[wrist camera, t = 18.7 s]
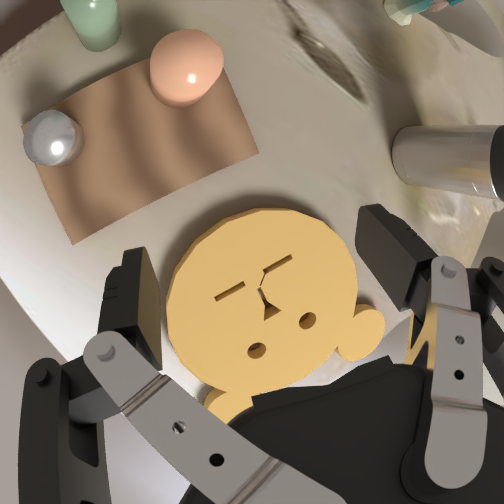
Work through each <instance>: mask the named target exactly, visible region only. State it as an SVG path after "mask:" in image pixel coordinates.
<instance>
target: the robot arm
mask: <svg viewBox="0 0 504 504" xmlns="http://www.w3.org/2000/svg"><path fill="white" fill-rule="evenodd" d="M392 160H393V165H394V168H395V171H396V172H397V174H398V176H399V177H400V179H401V180H402V181H404V182H405V183H407V184H409V185H415V186H422V187H428V188H433V189H440V190H445V191H451V192H457V193H462V194H468V195H473V196H478V197H483V198H489V199H493V200H498V201H503V202H504V125H433V126H411V127H405V128H403V129H401V130H400V131H399V132H398V134H397V135H396V137H395V139H394V142H393V147H392ZM355 247H356V250H357V253H358V254H359V256H360V257H361V258H362V260H363V261H364V263H365V264H366V265H367V267H368V268H369V269H370V271H371V272H372V273H373V275H374V276H375V278H376V279H377V280H378V282H379V283H380V285H381V286H382V287H383V289H384V290H385V292H386V293H387V294H388V296H389V297H390V299H391V300H392V302H393V303H394V305H395V306H396V307H397V309H398V310H399V312H402V311H405V310H408V309H410V308H411V309H412V311H413V313H412V316H411V320H410V321H411V322H410V330H409V338H408V345H407V352H406V358H405V361H404V364H393V363H392V361H391V359H390V357H389V356H388V355H387V356H385V357H382V358H379V359H377V360H374V361H371V362H368V363H365V364H363V365H360V366H358V367H356V368H355V369H353V370H351V371H350V372H348V373H347V374H345V375H344V376H342V377H340V378H339V379H337V380H336V381H334V382H332V383H331V384H329V385H324V386H307V387H287V388H283V389H279V390H275V391H271V392H267V393H263V394H259V395H254V396H251V399H252V404H253V406H251V407H249V408H247V409H245V410H243V411H242V412H240V413H239V414H237V415H236V416H235V417H234V418H232V419H231V420H230V421H229V422H228V423H227V424H225V423H224V422H223V421H221V420H220V419H219V418H218V417H216V416H215V415H214V414H213V413H211V412H210V411H209V410H208V409H206V408H205V407H204V406H203V405H202V404H200V403H199V402H198V401H197V400H196V399H194V398H193V397H192V396H191V395H190V394H189V393H187V392H186V391H185V390H184V389H183V388H182V387H181V386H179V385H178V384H177V383H176V382H175V381H174V380H173V379H171V378H170V377H169V376H167V375H164V376H163V375H162V374H160V373H159V372H158V371H160V370H163V369H162V351H161V324H160V291H159V285H158V281H157V278H156V275H155V272H154V270H153V267H152V264H151V261H150V258H149V255H148V252H147V250H146V248H145V247H139V248H134V249H130V250H125V251H124V253H123V259H122V266H118V267H113V269H112V270H111V272H110V273H109V275H108V276H107V278H106V282H105V288H104V290H105V291H104V293H103V301H102V305H101V311H100V318H99V324H98V332H97V335H96V336H94V337H93V338H92V339H90V341H89V342H88V343H87V345H86V346H85V349H84V352H83V355H82V356H80V357H78V358H76V359H74V360H72V361H70V362H67V363H65V364H63V365H60V364H59V363H58V362H57V361H56V360H54V359H52V358H42V359H40V360H38V361H36V362H35V363H34V364H33V365H32V366H31V367H30V369H29V370H28V372H27V375H26V378H25V384H24V391H23V399H22V408H21V418H20V430H19V449H18V489H19V504H112V503H111V496H110V490H109V481H108V473H107V464H106V453H105V441H104V425H103V420H104V419H106V418H109V417H111V416H114V415H116V414H118V413H120V412H122V413H123V414H124V415H125V417H126V418H127V419H128V420H129V421H130V422H131V424H132V425H133V426H134V427H135V428H136V429H137V430H138V431H139V432H140V433H141V435H142V436H143V437H144V438H145V439H146V440H147V441H148V442H149V443H150V444H151V445H152V446H153V447H154V448H155V449H156V450H157V451H158V452H159V453H160V454H161V455H162V456H163V457H164V458H165V459H166V460H167V461H168V462H169V463H170V464H171V465H172V466H173V467H174V468H175V469H176V470H177V471H178V472H179V473H180V474H181V475H183V476H184V477H185V478H186V479H187V480H188V481H189V482H190V483H191V484H190V486H189V488H188V489H187V491H186V493H185V494H184V496H183V498H182V499H181V501H180V503H179V504H504V405H503V406H500V405H498V404H496V403H494V402H491V401H489V400H487V399H485V398H483V363H484V364H485V366H486V368H487V370H488V371H489V373H490V375H491V377H492V378H493V380H494V382H495V384H496V385H497V387H498V389H499V391H500V393H501V395H502V397H503V399H504V332H503V331H502V329H501V328H500V326H499V325H498V324H497V322H496V321H495V319H494V318H493V316H492V315H491V314H492V312H493V310H494V308H495V307H496V305H497V306H498V307H499V308H500V310H501V311H502V312H503V314H504V262H502V261H501V260H499V259H497V258H494V257H486V258H484V259H483V260H482V262H481V264H480V267H479V268H478V269H476V268H472V269H471V268H465V267H464V266H463V265H462V264H461V263H460V262H459V261H457V260H456V259H454V258H451V257H448V256H438V255H437V254H436V253H435V252H434V251H433V250H432V249H431V248H430V247H429V246H428V245H427V243H426V242H425V241H424V240H423V239H422V238H421V237H420V236H417V233H416V232H415V231H414V230H413V229H411V227H410V226H409V225H408V224H407V223H406V222H405V221H404V220H402V219H400V218H399V217H397V216H395V215H393V214H390V213H389V212H388V211H387V210H386V209H385V208H384V207H383V206H382V205H381V204H372V205H366V206H361V207H360V209H359V212H358V220H357V227H356V235H355Z"/></svg>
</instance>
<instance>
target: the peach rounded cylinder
mask: <svg viewBox="0 0 504 504" xmlns="http://www.w3.org/2000/svg"><path fill="white" fill-rule="evenodd" d="M223 62H224V60H223V53H222V50H221V48H220V46H219V45H218V43H217V42H216V41H215V40H214V39H213V38H212V37H211V36H209V35H208V34H206V33H203V32H201V31H197V30H190V29H185V30H178V31H175V32H172V33H170V34H168V35H166V36H165V37H163V38H162V39H161V40H160V41H159V42H158V43H157V44H156V46H155V47H154V49H153V51H152V54H151V58H150V86H151V90H152V93H153V95H154V96H155V98H156V99H157V100H158V101H159V102H161V103H162V104H164V105H166V106H168V107H172V108H185V107H189V106H192V105H194V104H195V103H197V102H198V101H200V100H201V99H202V98H203V96H204V95H205V94H206V93H207V91H208V90H209V89H210V87H211V86H212V85H213V83H214V82H215V81H216V80H217V78H218V77H219V75H220V73H221V71H222V68H223Z"/></svg>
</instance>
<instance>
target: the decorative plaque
mask: <svg viewBox="0 0 504 504" xmlns="http://www.w3.org/2000/svg"><path fill="white" fill-rule="evenodd" d="M258 288H259V290H260V292H261V294H262V296H263V297H264V298H265V299H266V300H267V301H268V302H269V303H271V304H272V305H273V306H271V307H269V308H267V309H266V310H264V309H265V305H264V303H263V301H262V299H261V297H260V295H259V293H258V291H257V289H258ZM357 292H358V286H357V278H356V270H355V263H354V261H353V259H352V257H351V255H350V253H349V251H348V249H347V247H346V245H345V243H344V241H343V240H342V239H341V238H340V237H339V236H338V235H337V234H336V233H335V232H334V231H333V230H331V229H330V228H329V227H328V226H327V225H326V224H325V223H324V222H323V221H320V220H318V219H315V218H312V217H310V216H307V215H305V214H302V213H299V212H297V211H294V210H291V209H288V208H254V209H251V210H248V211H245V212H242V213H239V214H236V215H233V216H230V217H227V218H224V219H222V220H221V221H219V222H218V223H217V224H215V225H214V226H213V227H211V228H210V229H209V230H207V231H206V232H205V233H203V234H202V235H201V236H199V237H198V238H197V239H195V240H194V242H193V243H192V244H191V246H190V247H189V249H188V250H187V251H186V253H185V254H184V256H183V257H182V258H181V260H180V261H179V263H178V264H177V266H176V267H175V269H174V272H173V275H172V279H171V282H170V286H169V289H168V293H167V296H166V314H167V327H168V335H169V339H170V341H171V343H172V345H173V348H174V350H175V352H176V354H177V356H178V358H179V360H180V362H181V363H182V364H183V365H184V366H185V367H186V368H187V369H188V370H189V371H190V372H191V373H192V374H193V375H194V376H196V377H197V378H198V379H199V380H200V381H201V382H203V383H206V384H208V385H210V386H213V387H215V388H214V389H212V390H211V391H210V393H209V394H208V395H207V396H206V398H205V401H204V403H203V404H204V407H205V408H206V409H208V410H209V411H210V412H211V413H213V414H214V415H215V416H216V417H218V418H219V419H220V420H221V421H223V422H224V423H225V424H227V423H228V422H229V421H230V420H231V419H232V418H234V417H235V416H236V415H237V414H239V413H240V412H242V411H243V410H245V409H247V408H249V407H251V406H253V404H252V399H251V396H254V395H259V394H262V392H268V391H273V390H279V389H281V388H283V387H285V386H288V385H290V384H292V383H294V382H296V381H299V380H301V379H303V378H304V377H306V376H307V375H308V374H310V373H311V372H312V371H314V370H315V369H316V368H317V367H319V366H320V365H321V364H322V363H324V362H325V361H326V360H327V358H328V357H329V356H330V355H331V354H332V352H333V351H334V350H335V351H336V352H337V353H338V354H339V355H340V356H341V357H342V358H344V359H345V360H347V361H356V360H359V359H362V358H363V357H365V356H367V355H369V354H370V353H371V352H372V351H373V350H374V349H375V348H376V346H377V345H378V344H379V343H380V340H381V338H382V336H383V334H384V330H385V320H384V317H383V315H382V314H381V313H380V312H379V311H378V310H376V309H375V308H373V307H372V306H370V305H367V304H358V305H355V304H356V298H357ZM307 312H309V315H308V317H307V318H306V319H305V320H304V321H302V322H299V320H300V318H301V317H302V315H304V314H305V313H307ZM258 342H260V345H259V347H258V348H256V349H255V350H251V351H250V350H248V348H249V347H250V346H251V345H252V344H254V343H258Z"/></svg>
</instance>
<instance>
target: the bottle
mask: <svg viewBox="0 0 504 504" xmlns="http://www.w3.org/2000/svg"><path fill="white" fill-rule="evenodd" d="M60 2H61V4H62V6H63V8H64V10H65V12H66V14H67V16H68V18H69V20H70V21H71V23H72V25H73V27H74V29H75V31H76V33H77V35H78V36H79V38H80V40H81V42H82V44H83V45H84V47H85V48H86V49H88V50H90V51H94V52H99V51H103V50H106V49H108V48H110V47H112V46H113V45H114V44H115V43H116V42H117V41H118V39H119V37H120V35H121V25H120V20H119V14H118V8H117V3H116V0H60Z"/></svg>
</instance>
